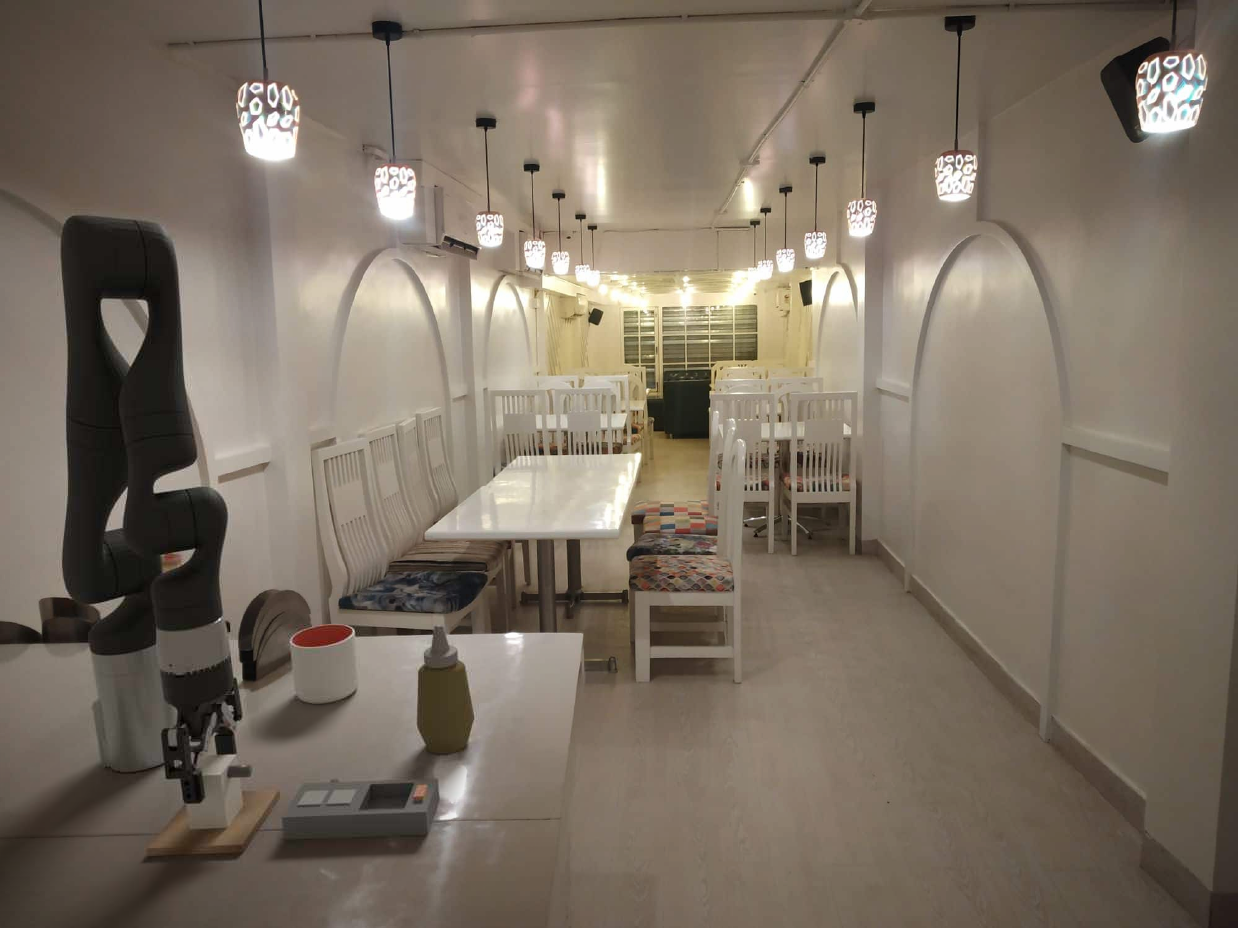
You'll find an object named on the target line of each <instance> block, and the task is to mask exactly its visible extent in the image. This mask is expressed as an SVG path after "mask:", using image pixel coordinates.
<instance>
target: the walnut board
mask: <svg viewBox="0 0 1238 928" xmlns="http://www.w3.org/2000/svg"><path fill="white" fill-rule="evenodd" d="M242 798H243V807H242V808H241V809H240V811H239V812H238V814H237V815H236V817H235V818H234V819H233V821H232V822H231V824H230V825H229V826H228V828H210V829H190V828H189V821H188V814H187V807H186V803H184V804H183V805H182V806H181V808H179V810H178V811H177V812H176V813H175V815H174V816H173V817H172V818H171V819H170V821H168V822H167V824H166V825H165V826H164V828H163V829H162V830H161V831H160V832H159V834H158V835H157V836H156V837H155V838H154V839H153V840H152V842H151V843H150V844H149V845H148V847H146V849H147V856H148V857H152V856H153V857H154V856H158V857H159V856H179V855H180V856H182V855H184V856H185V855H205V854H206V855H208V854H209V855H210V854H212V855H213V854H233V853H236V854H237V853H244V852H245V851H246V849H247V847H248V846H249V844H250V843H251V842H252V840H253V839H254V837H255V836H256V834H257V833H258V831H259V829H260V828H261V826H262V825H263V824H264V822H265V821H266V819H267V818H268V815H269V814H271V811H272V810H273V808H274V807H275V805H276V804H277V802H278V800H279V799H280V798H281V792H280V789H262V790H259V789H258V790H242ZM275 803H276V804H275Z"/></svg>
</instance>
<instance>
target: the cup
mask: <svg viewBox="0 0 1238 928" xmlns="http://www.w3.org/2000/svg"><path fill="white" fill-rule="evenodd" d="M289 648H290V649H289V650H290V655H291V656H290V658H291V667H292V675H293V682H294V683H293V685H294V692H295V695H296V696H297V698H298V699H299V700H301V701H302V702H305V703H307V704H308V703H309V704H314V705H319V704H320V705H323V704H329V703H333V702H336V701H340V700H342V699H345V698H347V697H348V696H350V695H351V694H353V693H354V692H355V691H356V690H357V688H358V687H359V684H360V673H359V663H358V652H357V642H356V633H355V629H354V628H353V627H352V626H349V625H347V624H340V623H332V624H331V623H329V624H320V625H315V626H312V627H308V628H305V629H302V630H300V631H298V632H296V633H295V634H294V635H292V636H291V638H290V639H289Z"/></svg>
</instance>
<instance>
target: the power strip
mask: <svg viewBox="0 0 1238 928" xmlns="http://www.w3.org/2000/svg"><path fill="white" fill-rule="evenodd" d="M439 802H440V790H439V779H438V778H437V777H436V778H415V779H414V778H413V779H412V778H411V779H387V780H386V779H385V780H359V781H339V780H338V779H337V778H332V779H330V781H329V782H327V781H326V782H305V783H302V785H300V788H299V789H298V791H297V793H296V794H295V796H294V797H293V799H292V800H291V802H290V803H289V805H288V807H287V808H286V810H285V811H284V813H283V815H282V816H281V822H282V829H283V831H282V832H283V839H284V841H289V840H290V841H291V840H293V841H294V840H296V841H297V840H321V839H348V838H372V837H374V838H375V837H397V836H399V837H401V836H423V835H424V836H425V835H426V836H427V835H428V836H429V832H430V829H431V826H432V823H433V821H434V818H435V814H436V811H437V808H438V806H439Z"/></svg>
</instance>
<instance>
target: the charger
mask: <svg viewBox="0 0 1238 928" xmlns="http://www.w3.org/2000/svg"><path fill="white" fill-rule="evenodd" d="M252 767H253V766H252V765H251V764H243V765H242V764H239V761H238V753H237V754H233V755H217V754H215V755H214V754H213V755H210V754H209V755H203V760H202V765H201V771H202V777H203V784H204V791H205V799H204V800H203V801H202V802H201V803H199V804H186V807H187V814H188V821H189V828H190V829H210V828H228V826H229V825H230V824H231V822H232V821H233V819H234V818H235V817H236V815H237V814H238V812H239V811H240V809H241V808H242V807H243V798H242V791H243V790H242V784H241V778H250V777H251V775H252V773H253V768H252Z"/></svg>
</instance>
